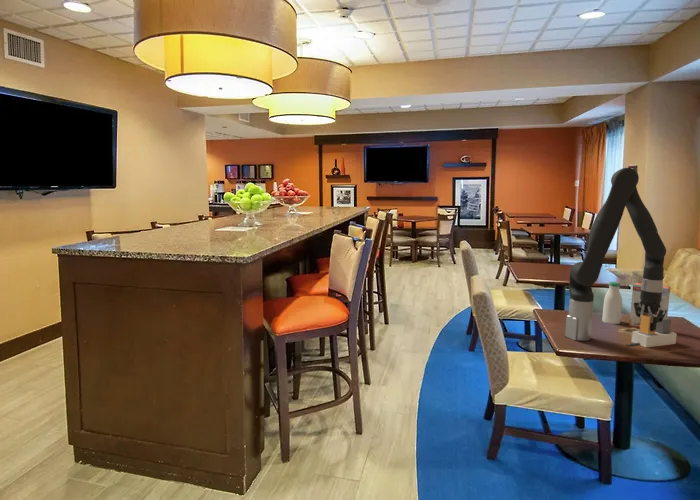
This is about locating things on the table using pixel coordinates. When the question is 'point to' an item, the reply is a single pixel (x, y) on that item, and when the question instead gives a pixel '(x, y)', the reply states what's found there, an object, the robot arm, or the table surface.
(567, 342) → the table surface
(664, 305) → the cracker box
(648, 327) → the plug
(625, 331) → the tray
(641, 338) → the strip
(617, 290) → the milk bottle
